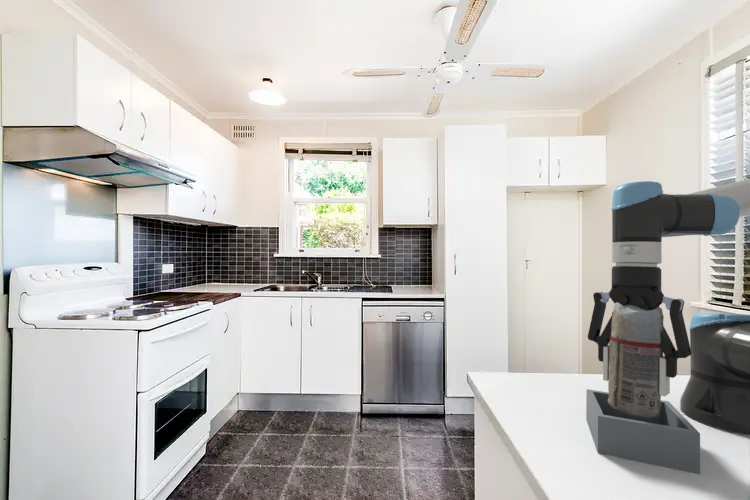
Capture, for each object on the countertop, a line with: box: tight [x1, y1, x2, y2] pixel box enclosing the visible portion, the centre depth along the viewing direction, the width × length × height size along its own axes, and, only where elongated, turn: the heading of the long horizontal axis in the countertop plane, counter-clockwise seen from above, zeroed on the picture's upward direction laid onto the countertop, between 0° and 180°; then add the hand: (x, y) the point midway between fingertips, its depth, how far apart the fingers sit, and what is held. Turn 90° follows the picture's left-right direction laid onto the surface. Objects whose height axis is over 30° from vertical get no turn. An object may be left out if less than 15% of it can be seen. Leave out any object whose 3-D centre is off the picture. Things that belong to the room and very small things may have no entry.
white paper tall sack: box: [607, 302, 665, 418], centre depth 66 cm, size 8×8×20 cm
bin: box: [585, 389, 701, 475], centre depth 65 cm, size 14×14×6 cm
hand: (634, 386), depth 65 cm, fingers closed on white paper tall sack, 8 cm apart
